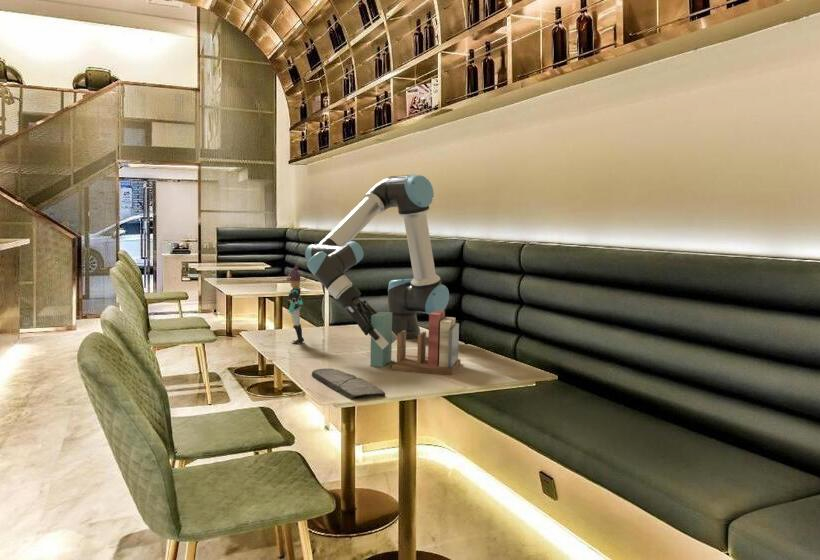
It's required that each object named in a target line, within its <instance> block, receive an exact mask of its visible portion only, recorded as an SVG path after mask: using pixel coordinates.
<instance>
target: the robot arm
mask: <svg viewBox="0 0 820 560" xmlns="http://www.w3.org/2000/svg"><path fill="white" fill-rule="evenodd" d="M434 193H435V192H434V188H433V185H432V183H431V181H430V180H429V179H428V178H426V176H424V175H421V174H406V175H404V174H403V175H391V176H388V177H387V176H386V177H385V178H383V179H381V180H380V181H379V182H377V183H376V184H374V185H373V186H372V187H371V188H370V189H369V190H368V191H367V192H365V193H364V194H363V197H362V198H363V199H362V201H360V202H359V203H358V205H356V206H355V207H354V208H353V209H352V210H351V211H350V212H349V213H348V214H347V215H346V216H345V217H344V218H343V219H342V220H341V221H340V222H339V223H338V224H337V225H336V226H335V227H334V228H333V229H332V230H331V231H330V232H329V233H328V234H327V235H326V236H325V237H324V238H322V239H321V240H320V241H319V242H318V243H314V244H313V243H311V244H309V245H308V246H307V247H306V249H305V255H304V257H305V259H306V262H307V263H306V265H307V266H306V267H307V268H308V270H309V272H311V274H312V275H313V277H315V278H316V280H317V281H319V283H320V284H321V285H322V286H323V287H324V288H325V289H326V290H327V291H328V292H329V295H330V296H332V297H333V299H335V300H337V301H336V302H337V303H338V304H339V305H340V306H341V307H342V308H343V309H346V312H347V313H349V315H351V318H352V319H353V320H354V322H355V323H356V324H357V325H358V327H359V328H360V330H361V331H362V333H363V334H364V335H365V336H368V335H369V336H370V338H371V337H372V338H373V340H374V341H375V342H376V343H377V344H378V345H379V346H380V347H381V349H382V350H383V349H384V348H385V347H386V346H387V345H388V344H389V343H388V342H387V341H386V340H385V338H384V337H383V336H382V335H381V334H380V333H379V332H378V331H377V329H376V328H375V329H374V328H373V326H372V325H371V316H372V315H374V314H376V313H378V312H377V310H375V309H374V308H373V307H372V306H371V305H370V304H369V303H368V302H367V300H361V299H360V298H359V297H360V296H361V294H362V292H360V290H359V289H358V288H357V286H355V285H353V282H352V281H351V280H350V279H349V278H348V277H347V275H345V274H344V272H346V271H347V270H349V269H351V268H352V267H353V266H356V265H357V264H358V263H360V261H362V260H363V258H364V254H365V253H364V250H363V247H362V246H361V245H360V243H358V242H356V241H354V240H353V239H355V237H357V235H358V234H360V232H361V231H363V229H364V228H365V227H366V226H368V224H370V222H371V221H373V219H374V218H375V217H376V216H377V215H381V214H383V213H384V212H385V211H386V210H388V209H391V208H397V212H398V215H399V216H401V217H402V218H403V221H404V227H405V228H404V229H405V233H406V240H407V247H408V251H409V252H408V253H409V256H410V263H411V269H412V273H413V274H412V275H413V278H404V279H403V278H402V279H401V278H400V279H391V280H390V281H389V282H388V288H387V312H392V344H393V343H395V342H396V341H397V334H398V333H400V332H401V331H403V330H404V331H406V339H414V338H415V339H417V338H418V335H419V334H421V329H420V326H419V321H418V317H417V313H422V314H427V315H429V314H430V313H432V312H434V311H435V310H441V311H445V310H446V308H447V306H448V304H449V301H450V292H449V289H448V287H447V286H446V285H444V284H442V281H441V276H439V275H438V274H437V273H436V268H435V261H434V254H433V249H432V242H431V238H430V237H431V236H430V230H429V222H428V217H427V213H428V212H429V210H430V205H431V204H432V203H433V198H434V195H435V194H434Z"/></svg>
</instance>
